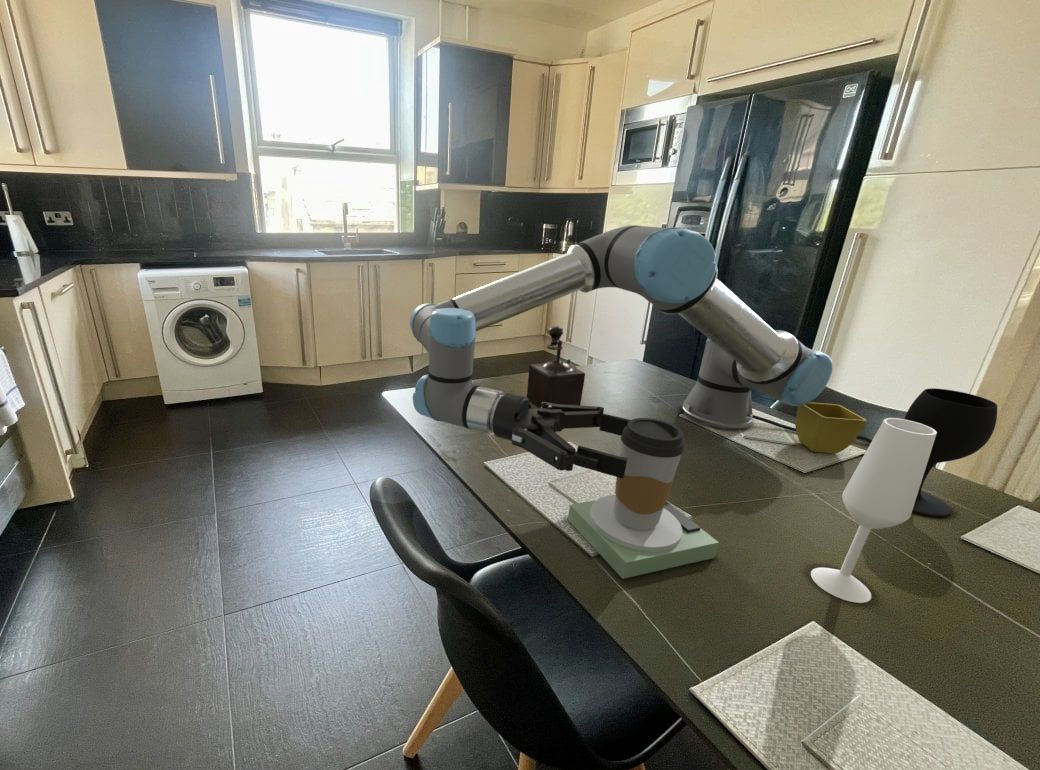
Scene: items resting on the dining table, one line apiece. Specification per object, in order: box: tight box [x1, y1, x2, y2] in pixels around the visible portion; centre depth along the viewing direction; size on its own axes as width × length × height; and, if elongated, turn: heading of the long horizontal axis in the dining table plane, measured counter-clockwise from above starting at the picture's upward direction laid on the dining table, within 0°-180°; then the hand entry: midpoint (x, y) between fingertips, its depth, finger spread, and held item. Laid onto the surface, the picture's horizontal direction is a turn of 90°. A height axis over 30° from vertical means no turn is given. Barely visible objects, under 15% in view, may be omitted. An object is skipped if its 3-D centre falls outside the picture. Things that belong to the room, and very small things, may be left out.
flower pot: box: [794, 401, 868, 454], centre depth 104 cm, size 9×9×9 cm
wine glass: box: [904, 387, 998, 518], centre depth 83 cm, size 10×10×20 cm
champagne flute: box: [810, 417, 937, 604], centre depth 62 cm, size 7×7×24 cm
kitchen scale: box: [567, 494, 720, 580], centre depth 74 cm, size 16×14×4 cm
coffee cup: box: [613, 417, 686, 531], centre depth 70 cm, size 8×8×15 cm
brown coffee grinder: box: [526, 325, 586, 409], centre depth 124 cm, size 16×11×18 cm
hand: (635, 449), depth 70 cm, fingers open, 13 cm apart
